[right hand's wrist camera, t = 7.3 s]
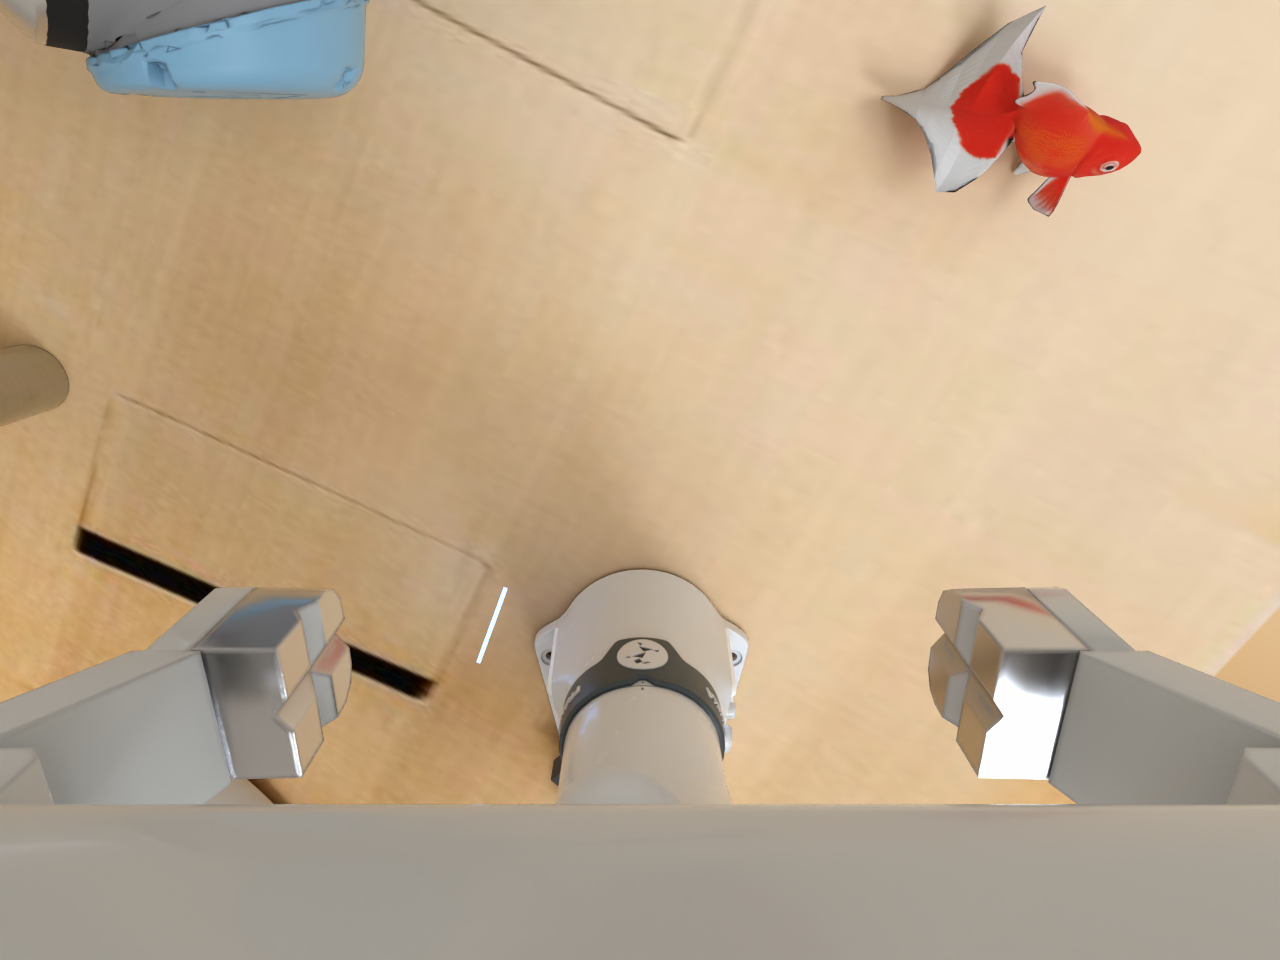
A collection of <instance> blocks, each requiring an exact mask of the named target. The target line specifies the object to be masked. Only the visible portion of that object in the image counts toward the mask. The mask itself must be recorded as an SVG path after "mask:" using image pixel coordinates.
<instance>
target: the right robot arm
mask: <svg viewBox="0 0 1280 960" xmlns="http://www.w3.org/2000/svg"><path fill="white" fill-rule="evenodd" d="M506 591H507V588H505V587H504V588H503V591H502V594H501V596H500V599H499V602H498V605H497V607H496V610H495V613H494V616H493V618H492V621H491V624H490V627H489V629H488V632H487V635H486V638H485V640H484V643H483V646H482V648H481V651H480V654H479V657H478V660H477V662H478V663H480V662H481V660H482V657H483V654H484V651H485V649H486V646H487V643H488V640H489V638H490V635H491V632H492V630H493V627H494V624H495V621H496V619H497V616H498V613H499V610H500V608H501V605H502V602H503V600H504V597H505V594H506ZM344 619H345V618H344V613H343V608H342V603H341V598H340V596H339V595H338V594H337V592H336V591H335V590H334V589H307V588H258V587H232V588H216V589H214V590H213V591H212V592H211V593H210V594H208V595H207V596H206V597H205V598H204V599H203V600H202V601H200V602H199V603H198V604H197V605H196V606H195V607H194V608H193V609H191V610H190V611H189V612H188V613H187V614H186V615H185V616H183V617H182V618H181V619H180V620H179V621H178V622H177V623H175V624H174V625H173V626H172V627H171V628H170V629H169V630H168V631H166V632H165V633H164V634H163V635H162V636H161V637H160V638H158V639H157V640H156V641H155V642H154V643H153V644H152V645H151V646H149V647H148V648H147V649H146V650H145V651H131V652H128V653H125V654H123V655H120V656H118V657H115V658H113V659H110V660H108V661H105V662H103V663H100V664H98V665H95V666H92V667H90V668H87V669H85V670H82V671H80V672H77V673H75V674H72V675H70V676H67V677H65V678H62V679H59V680H57V681H54V682H52V683H49V684H47V685H44V686H42V687H39V688H37V689H34V690H31V691H29V692H26V693H24V694H21V695H19V696H16V697H14V698H11V699H9V700H6V701H4V702H1V703H0V960H1280V703H1279V702H1276V701H1274V700H1271V699H1268V698H1266V697H1263V696H1261V695H1258V694H1256V693H1253V692H1251V691H1248V690H1246V689H1243V688H1241V687H1238V686H1236V685H1233V684H1230V683H1228V682H1225V681H1223V680H1220V679H1218V678H1215V677H1213V676H1210V675H1208V674H1205V673H1203V672H1200V671H1198V670H1195V669H1193V668H1190V667H1187V666H1185V665H1182V664H1180V663H1177V662H1175V661H1172V660H1170V659H1167V658H1165V657H1162V656H1160V655H1157V654H1155V653H1152V652H1149V651H1135V650H1134V649H1133V648H1132V647H1131V646H1130V645H1128V644H1127V643H1126V642H1125V641H1124V640H1123V639H1122V638H1121V637H1119V636H1118V635H1117V634H1116V633H1115V632H1114V631H1113V630H1111V629H1110V628H1109V627H1108V626H1107V625H1106V624H1105V623H1104V622H1102V621H1101V620H1100V619H1099V618H1098V617H1097V616H1096V615H1094V614H1093V613H1092V612H1091V611H1090V610H1089V609H1088V608H1087V607H1085V606H1084V605H1083V604H1082V603H1081V602H1080V601H1079V600H1078V599H1076V598H1075V597H1074V596H1073V595H1072V594H1071V593H1070V592H1068V591H1067V590H1066V589H1063V588H1059V587H1037V588H1025V587H1020V588H978V589H951V590H945V591H943V593H942V595H941V597H940V599H939V602H938V606H937V612H936V618H935V619H936V621H937V622H938V624H939V625H940V627H941V628H942V630H943V631H944V634H943V635H942V636H941V637H940V638H939V639H938V641H937V642H936V643H935V644H934V645H933V646H932V647H931V650H930V658H929V666H928V673H929V683H930V691H931V694H932V697H933V700H934V703H935V705H936V707H937V709H938V711H939V712H940V714H941V716H942V717H943V718H944V719H946V720H948V721H949V722H951V723H952V724H954V725H956V726H957V727H958V732H957V738H956V741H957V743H958V745H959V746H960V748H961V749H962V751H963V753H964V754H965V756H966V758H967V759H968V761H969V763H970V764H971V766H972V768H973V769H974V771H975V773H976V774H977V776H978V778H1009V779H1046V780H1049V781H1048V783H1050V784H1051V785H1052V786H1054V787H1055V788H1056V789H1058V790H1059V791H1060V792H1062V793H1063V794H1064V795H1066V796H1067V797H1069V798H1070V799H1071V800H1073V801H1074V802H1075V803H1077V804H733V803H732V800H731V796H730V792H729V789H728V785H727V781H726V776H725V772H724V767H723V758H724V753H727V752H729V751H730V748H731V744H732V728H731V726H729V725H726V722H727V719H734V717H735V712H736V704H735V703H734V702H733V699H734V696H735V694H736V689H737V685H738V682H739V678H740V675H741V672H742V668H743V665H744V662H745V658H746V655H747V652H748V647H749V645H748V637H747V635H746V634H745V632H744V631H742V630H741V629H740V628H738V627H737V626H735V625H734V624H732V623H730V622H728V621H727V620H725V619H723V617H722V616H721V615H720V614H719V613H718V612H717V610H716V609H715V607H714V606H713V605H712V603H711V602H710V600H709V599H708V598H707V597H706V596H705V595H704V594H703V593H702V592H701V591H700V590H699V589H698V588H696V587H695V586H694V585H692V584H691V583H689V582H688V581H686V580H684V579H682V578H680V577H678V576H675V575H672V574H669V573H666V572H661V571H656V570H646V569H637V570H627V571H622V572H617V573H614V574H611V575H608V576H606V577H604V578H601V579H599V580H598V581H596V582H594V583H592V584H591V585H589V586H588V587H587V588H586V589H584V590H583V591H582V592H581V593H580V594H579V595H578V596H577V597H576V598H575V599H574V601H573V602H572V603H571V605H570V606H569V608H568V609H567V610H566V612H565V613H564V614H563V615H562V616H561V617H560V618H559V619H557V620H555V621H553V622H551V623H550V624H548V625H546V626H545V627H543V628H542V629H541V630H539V631H538V633H537V634H536V636H535V651H536V654H537V658H538V661H539V665H540V669H541V672H542V676H543V679H544V683H545V686H546V690H547V694H548V697H549V701H550V704H551V708H552V711H553V715H554V719H555V722H556V726H557V729H558V734H559V752H560V756H559V757H557V758H556V759H555V760H554V764H553V770H552V777H551V780H552V781H553V782H554V783H556V784H557V785H558V786H559V787H558V794H557V801H556V804H204V803H205V802H206V801H208V800H209V799H210V798H212V797H213V796H214V795H216V794H217V793H218V792H220V791H221V790H223V789H224V788H225V787H227V786H228V785H229V784H231V780H234V779H269V778H302V776H303V774H304V773H305V771H306V769H307V768H308V766H309V764H310V763H311V761H312V759H313V758H314V756H315V755H316V753H317V751H318V750H319V748H320V746H321V745H322V743H323V741H324V738H323V732H322V727H323V726H324V725H326V724H328V723H329V722H331V721H332V720H334V719H336V718H337V717H338V716H339V714H340V712H341V710H342V709H343V707H344V705H345V703H346V701H347V697H348V693H349V689H350V684H351V668H352V663H351V656H350V649H349V647H348V646H347V645H346V644H345V643H344V642H343V641H342V639H341V638H340V637H339V636H338V635H337V634H336V631H337V630H338V628H339V627H340V625H341V624H342V622H343V621H344ZM548 652H552V654H551V655H549V654H548ZM732 653H735V655H734V656H732Z"/></svg>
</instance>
